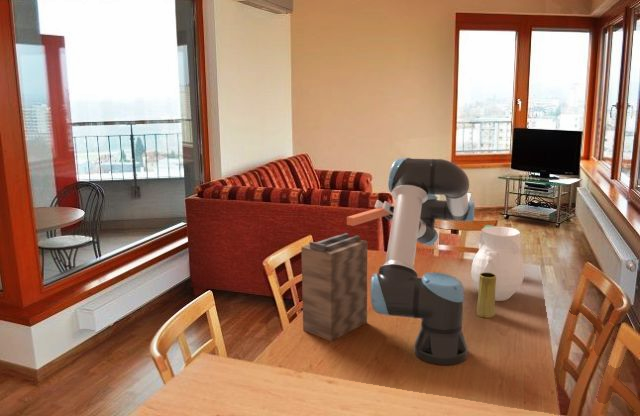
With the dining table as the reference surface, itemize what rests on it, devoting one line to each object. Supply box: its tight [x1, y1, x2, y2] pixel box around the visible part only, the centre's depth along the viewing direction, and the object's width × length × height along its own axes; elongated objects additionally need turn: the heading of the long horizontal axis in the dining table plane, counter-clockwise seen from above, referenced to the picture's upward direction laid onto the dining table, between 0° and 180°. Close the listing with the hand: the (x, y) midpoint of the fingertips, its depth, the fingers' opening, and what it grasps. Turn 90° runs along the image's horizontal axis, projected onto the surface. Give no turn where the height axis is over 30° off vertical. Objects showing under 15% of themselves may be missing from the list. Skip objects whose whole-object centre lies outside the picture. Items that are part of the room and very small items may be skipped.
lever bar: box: [346, 203, 395, 227], centre depth 193 cm, size 26×3×3 cm, turn 138°
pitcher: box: [470, 225, 525, 302], centre depth 205 cm, size 19×18×25 cm
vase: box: [475, 272, 496, 319], centre depth 190 cm, size 6×6×14 cm
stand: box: [300, 232, 368, 342], centre depth 181 cm, size 18×12×30 cm, turn 138°
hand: (380, 204), depth 195 cm, fingers closed on lever bar, 3 cm apart
